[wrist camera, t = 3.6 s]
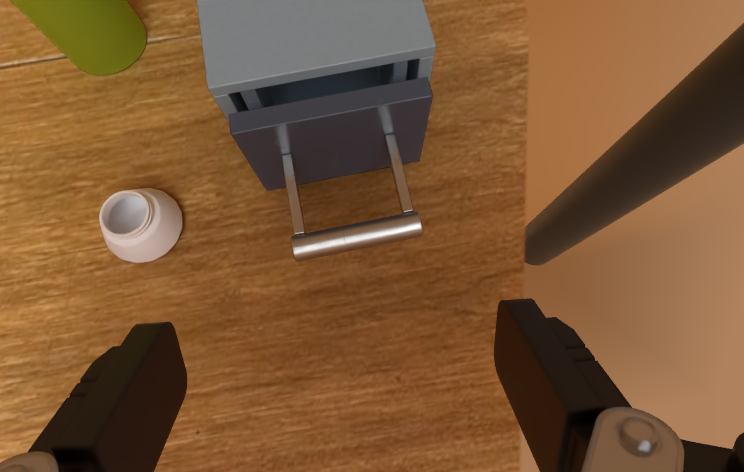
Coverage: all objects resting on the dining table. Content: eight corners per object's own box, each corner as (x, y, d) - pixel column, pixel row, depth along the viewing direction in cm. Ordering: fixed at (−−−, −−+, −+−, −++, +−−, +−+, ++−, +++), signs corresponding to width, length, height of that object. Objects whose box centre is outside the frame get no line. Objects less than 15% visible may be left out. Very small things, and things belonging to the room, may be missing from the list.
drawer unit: (419, 137, 32) (436, 45, 23) (256, 169, 32) (207, 88, 22) (379, -16, 36) (380, -149, 27) (232, 10, 35) (181, -116, 26)
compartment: (442, 249, 29) (465, 208, 22) (280, 282, 29) (246, 252, 21) (380, 10, 34) (381, -90, 27) (242, 36, 34) (203, -59, 26)
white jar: (127, 185, 31) (97, 253, 30) (102, 167, 29) (68, 241, 27) (195, 202, 31) (168, 272, 30) (177, 185, 28) (146, 262, 27)
